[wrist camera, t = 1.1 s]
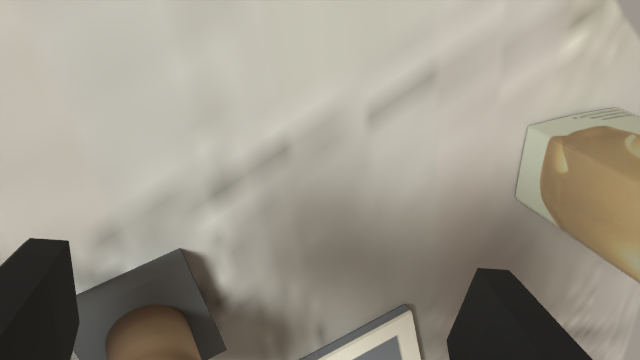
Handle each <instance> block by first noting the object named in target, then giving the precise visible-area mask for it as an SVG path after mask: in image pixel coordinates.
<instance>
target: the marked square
mask: <svg viewBox="0 0 640 360" xmlns="http://www.w3.org/2000/svg"><path fill="white" fill-rule="evenodd" d="M301 360H421V358H420V353H419V347H418V342H417V337H416V332H415V326H414V321H413V316H412V312H411V311H410V310H409V309H408V308H407V306H406V305H405V304H404V305H402V306H400V307H398V308H396V309H395V310H393V311H391V312H389V313H387V314H385V315H383V316H381V317H380V318H378V319H376V320H374V321H372V322H370V323H368V324H366V325H365V326H363V327H361V328H359V329H357V330H355V331H353V332H351V333H350V334H348V335H346V336H344V337H342V338H340V339H338V340H337V341H335V342H333V343H331V344H329V345H327V346H325V347H323V348H322V349H320V350H318V351H316V352H314V353H312V354H310V355H308V356H307V357H305V358H303V359H301Z"/></svg>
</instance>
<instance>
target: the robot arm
mask: <svg viewBox="0 0 640 360" xmlns="http://www.w3.org/2000/svg"><path fill="white" fill-rule="evenodd" d="M79 324H80V321H79V314H78V306H77V299H76V291H75V284H74V277H73V269H72V262H71V254H70V247H69V241H64V240H49V239H34V238H30V239H29V240H27V241H26V242H25V243H23V244H22V245H21V246H20V247H19V248H18V249H17V250H16V251H15V252H14V253H13V254H12V255H11V256H10V257H9V258H8V259H7V260H6V261H5V262H4V263H3V264H2V265H1V266H0V360H70V359H71V355H72V352H73V348H74V344H75V340H76V336H77V332H78V328H79ZM447 345H448V352H449V358H450V360H592V358H591V357H590V356H589V355H588V354H587V353H586V352H585V351H584V350H583V349H582V348H581V347H580V346H579V345H578V344H577V343H576V342H575V341H574V339H573V338H572V337H571V336H570V335H569V334H568V333H567V332H566V331H565V330H564V329H563V328H562V327H561V326H560V324H559V323H558V322H557V321H556V320H555V319H554V318H553V317H552V316H551V315H550V314H549V312H548V311H547V310H546V309H545V308H544V307H543V306H542V305H541V304H540V303H539V302H538V301H537V299H536V298H535V297H534V296H533V295H532V294H531V293H530V292H529V291H528V290H527V289H526V288H525V286H524V285H523V284H522V283H521V282H520V281H519V280H518V279H517V278H516V277H515V276H514V275H513V274H512V273H511V272H510V271H509V270H498V269H483V268H477V271H476V273H475V275H474V278H473V280H472V282H471V285H470V287H469V289H468V292H467V294H466V296H465V299H464V301H463V303H462V306H461V308H460V310H459V313H458V315H457V317H456V320H455V322H454V324H453V327H452V329H451V331H450V334H449V336H448V338H447Z"/></svg>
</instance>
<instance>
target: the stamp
mask: <svg viewBox="0 0 640 360" xmlns="http://www.w3.org/2000/svg"><path fill="white" fill-rule="evenodd" d="M76 299H77V306H78V314H79V321H80V324H79V328H78V332H77V336H76V340H75V344H74V348H73V351H74V353H75V354H76V355H77V357H78V358H79V360H208V359H210V358H212V357H214V356H215V355H217V354H219V353H221V352H223V351H225V350H227V349H226V347H225V345H224V342H223V340H222V338H221V335H220V333H219V331H218V329H217V326H216V324H215V322H214V320H213V318H212V316H211V314H210V311H209V309H208V307H207V305H206V303H205V301H204V299H203V296H202V294H201V292H200V290H199V288H198V286H197V284H196V281H195V279H194V277H193V275H192V273H191V271H190V269H189V267H188V264H187V262H186V260H185V258H184V256H183V254H182V252H181V249H180V248H179V249H177V250H175V251H172V252H170V253H168V254H166V255H163V256H161V257H159V258H157V259H155V260H152V261H150V262H148V263H146V264H144V265H141V266H139V267H137V268H135V269H133V270H130V271H128V272H126V273H124V274H122V275H119V276H117V277H115V278H113V279H111V280H108V281H106V282H104V283H102V284H100V285H97V286H95V287H93V288H91V289H89V290H86V291H84V292H82V293H80V294H77V295H76Z"/></svg>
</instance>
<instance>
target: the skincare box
mask: <svg viewBox="0 0 640 360" xmlns="http://www.w3.org/2000/svg"><path fill="white" fill-rule="evenodd" d="M515 198H516V199H517V200H518V201H520V202H521V203H523V204H524V205H526V206H527V207H529V208H530V209H532V210H533V211H534V212H536V213H537V214H539V215H540V216H542V217H543V218H545V219H546V220H548V221H549V222H551V223H552V224H554V225H555V226H556V227H558V228H559V229H561V230H562V231H564V232H565V233H567V234H568V235H569V236H571V237H572V238H574V239H575V240H577V241H578V242H580V243H581V244H583V245H584V246H586V247H587V248H589V249H590V250H591V251H593V252H594V253H596V254H597V255H599V256H600V257H601V258H603V259H604V260H606V261H607V262H609V263H610V264H612V265H613V266H615V267H616V268H618V269H619V270H621V271H622V272H624V273H625V274H626V275H628V276H629V277H631V278H632V279H634V280H635V281H637V282H638V283H640V116H638V115H635V114H632V113H630V112H628V111H625V110H623V109H620V108H610V109H604V110H598V111H593V112H587V113H582V114H577V115H572V116H568V117H563V118H559V119H555V120H551V121H546V122H542V123H538V124H534V125H530V126H529V127H528V129H527V134H526V139H525V144H524V149H523V155H522V160H521V165H520V170H519V176H518V183H517V188H516V194H515Z"/></svg>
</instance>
